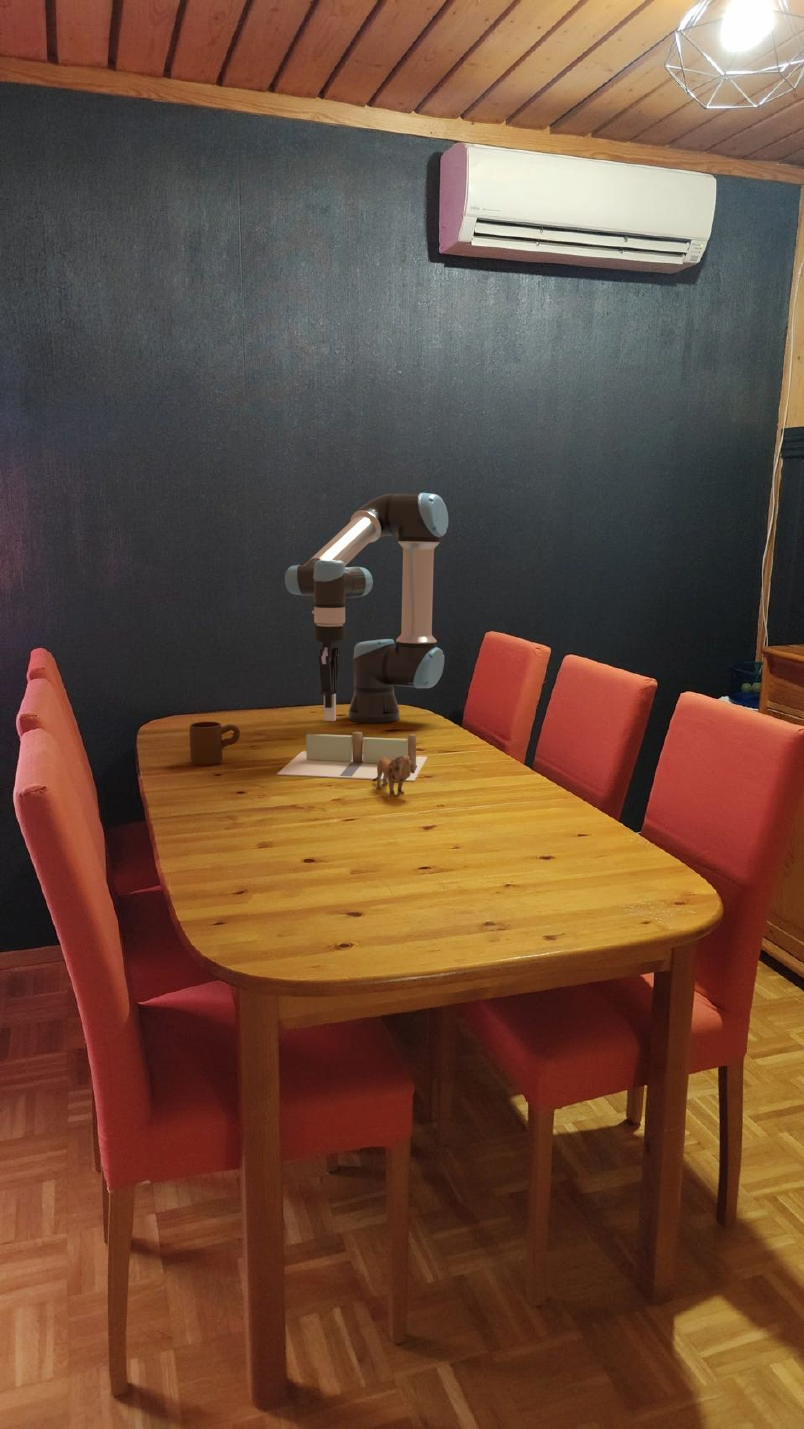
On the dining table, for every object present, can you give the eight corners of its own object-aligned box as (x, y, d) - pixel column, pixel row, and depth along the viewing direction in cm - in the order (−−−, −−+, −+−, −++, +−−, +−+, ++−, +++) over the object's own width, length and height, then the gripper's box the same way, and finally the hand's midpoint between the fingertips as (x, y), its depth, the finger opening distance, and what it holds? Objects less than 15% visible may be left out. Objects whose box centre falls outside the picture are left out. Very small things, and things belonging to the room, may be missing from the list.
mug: (240, 757, 238) (239, 719, 236) (241, 764, 231) (240, 726, 229) (190, 759, 236) (189, 721, 234) (190, 767, 228) (188, 728, 226)
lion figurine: (420, 797, 205) (420, 756, 203) (399, 801, 202) (399, 759, 200) (381, 781, 217) (381, 742, 215) (361, 785, 214) (361, 745, 212)
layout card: (302, 752, 243) (302, 751, 243) (427, 757, 238) (427, 756, 238) (276, 775, 222) (276, 773, 222) (414, 781, 217) (414, 780, 216)
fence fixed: (353, 760, 234) (353, 731, 232) (416, 763, 231) (417, 734, 230) (351, 762, 232) (351, 733, 230) (415, 765, 229) (415, 736, 228)
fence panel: (308, 757, 235) (307, 733, 234) (352, 759, 233) (352, 735, 232) (306, 759, 234) (306, 735, 232) (350, 761, 232) (350, 736, 231)
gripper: (321, 621, 240) (321, 714, 244) (307, 626, 227) (308, 724, 232) (350, 622, 239) (350, 715, 243) (338, 627, 226) (338, 725, 231)
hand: (329, 720), depth 237 cm, fingers closed
